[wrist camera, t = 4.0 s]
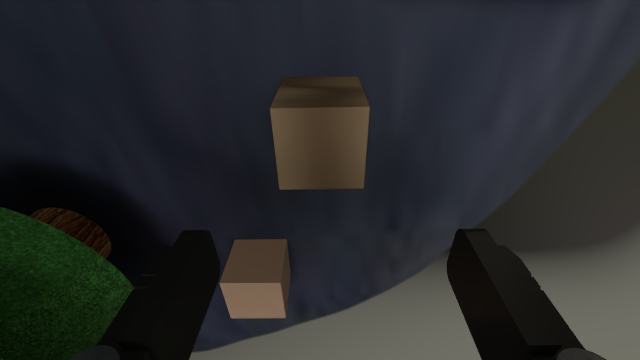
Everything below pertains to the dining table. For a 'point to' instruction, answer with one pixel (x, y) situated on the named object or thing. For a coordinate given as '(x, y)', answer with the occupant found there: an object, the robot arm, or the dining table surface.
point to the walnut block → (320, 132)
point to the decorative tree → (55, 284)
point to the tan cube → (257, 279)
